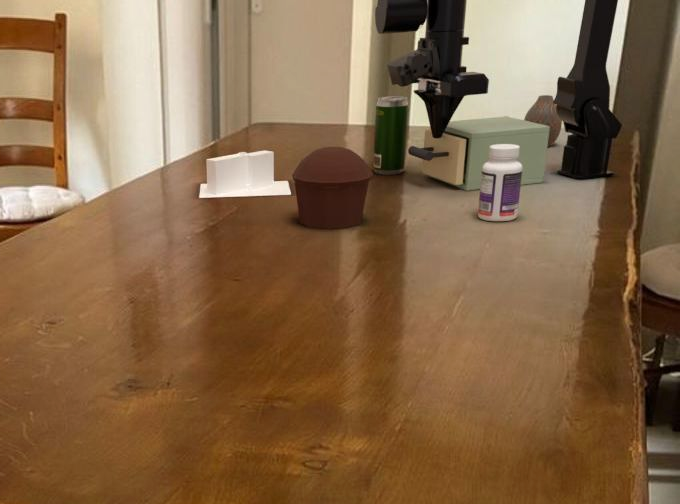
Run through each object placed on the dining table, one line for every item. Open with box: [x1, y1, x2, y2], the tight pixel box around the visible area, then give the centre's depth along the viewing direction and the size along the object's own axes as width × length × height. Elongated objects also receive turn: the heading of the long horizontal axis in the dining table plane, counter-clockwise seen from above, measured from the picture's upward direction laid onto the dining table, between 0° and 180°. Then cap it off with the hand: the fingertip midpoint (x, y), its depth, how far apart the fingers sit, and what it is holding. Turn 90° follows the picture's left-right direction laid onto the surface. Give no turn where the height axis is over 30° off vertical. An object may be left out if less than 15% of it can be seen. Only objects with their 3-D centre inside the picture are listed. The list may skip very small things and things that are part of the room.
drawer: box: [407, 129, 469, 185], centre depth 163 cm, size 17×11×7 cm
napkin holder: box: [198, 150, 292, 199], centre depth 166 cm, size 15×11×6 cm
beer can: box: [372, 95, 409, 176], centre depth 172 cm, size 5×5×12 cm
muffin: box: [291, 146, 374, 230], centre depth 143 cm, size 12×11×10 cm
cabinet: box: [428, 115, 550, 191], centre depth 164 cm, size 14×13×9 cm
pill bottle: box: [477, 144, 522, 222], centre depth 141 cm, size 5×5×10 cm
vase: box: [523, 94, 563, 148], centre depth 189 cm, size 7×7×9 cm
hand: (436, 137), depth 161 cm, fingers closed
